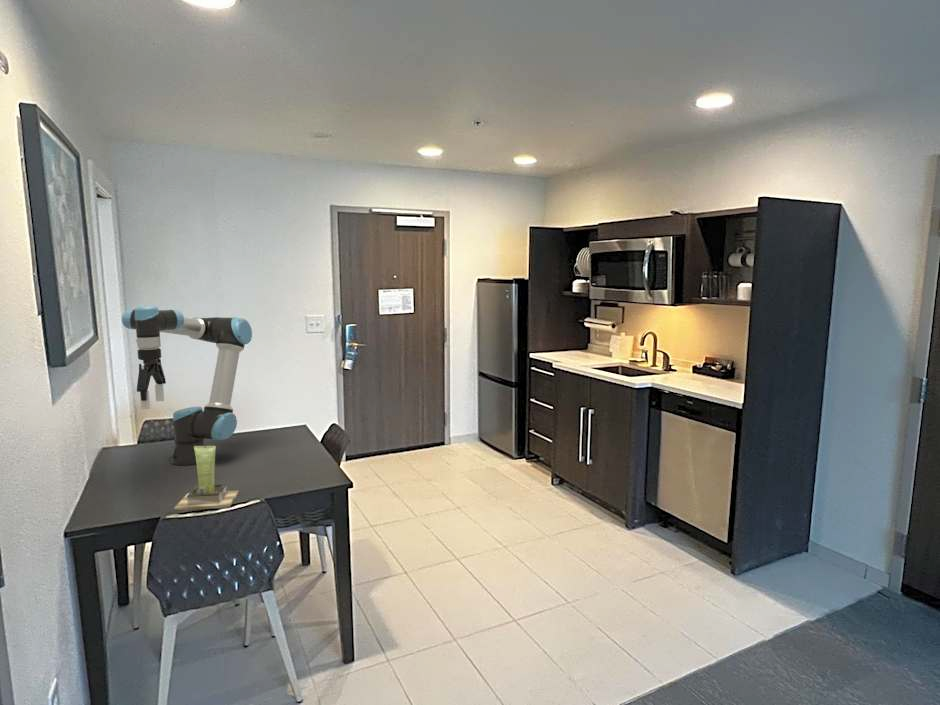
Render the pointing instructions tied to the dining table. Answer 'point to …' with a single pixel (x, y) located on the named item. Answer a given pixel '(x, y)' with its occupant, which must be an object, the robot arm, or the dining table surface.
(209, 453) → the tube
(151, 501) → the dining table surface
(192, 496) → the collar board
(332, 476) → the dining table surface
